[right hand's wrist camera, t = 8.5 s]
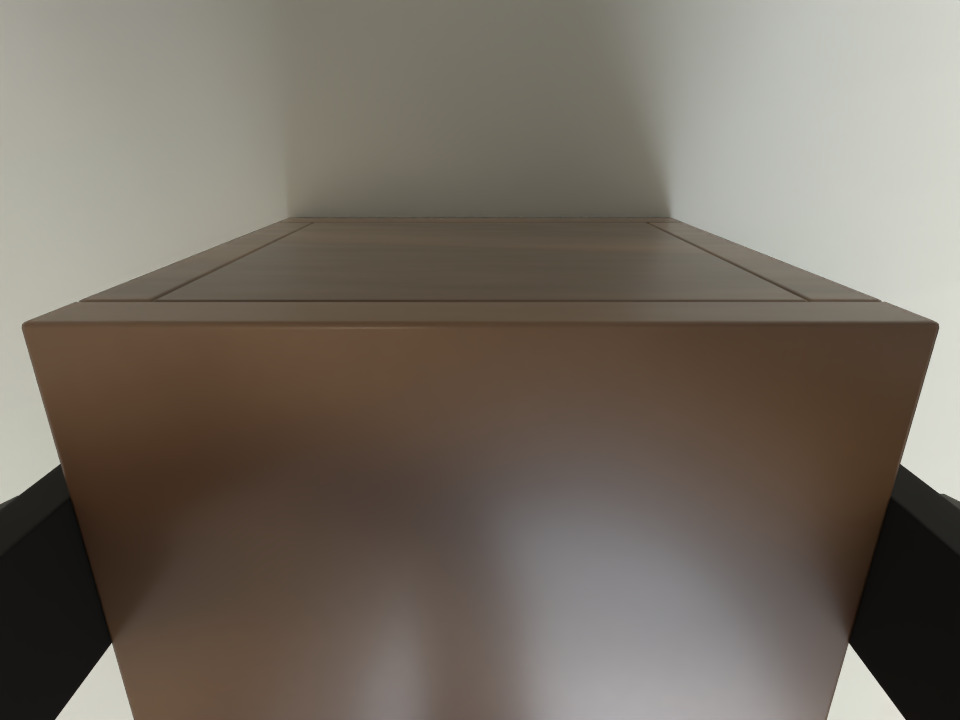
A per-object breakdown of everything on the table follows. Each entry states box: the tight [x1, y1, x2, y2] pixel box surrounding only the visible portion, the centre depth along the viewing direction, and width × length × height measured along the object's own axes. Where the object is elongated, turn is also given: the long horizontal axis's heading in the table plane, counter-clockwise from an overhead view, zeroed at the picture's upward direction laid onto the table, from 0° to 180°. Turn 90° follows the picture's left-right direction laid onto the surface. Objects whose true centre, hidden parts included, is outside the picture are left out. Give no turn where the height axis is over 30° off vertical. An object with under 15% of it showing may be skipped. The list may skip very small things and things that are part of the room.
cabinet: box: [22, 218, 939, 720], centre depth 16 cm, size 19×12×11 cm, turn 0°
